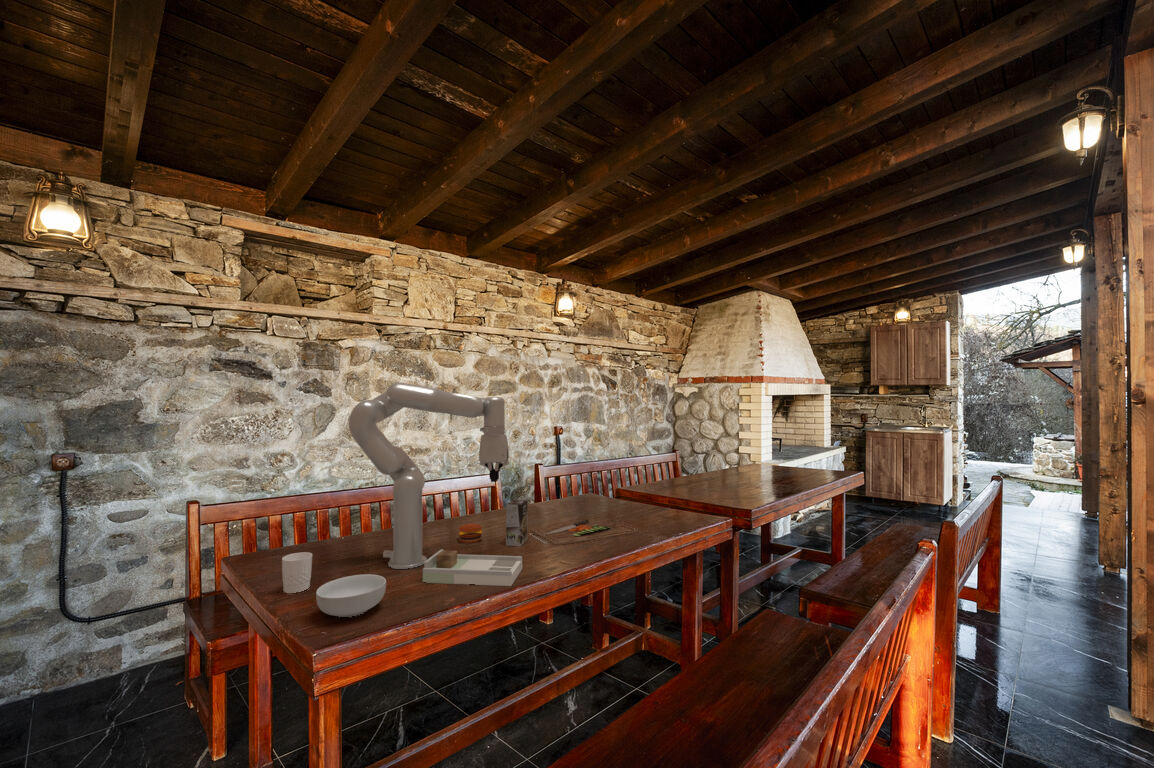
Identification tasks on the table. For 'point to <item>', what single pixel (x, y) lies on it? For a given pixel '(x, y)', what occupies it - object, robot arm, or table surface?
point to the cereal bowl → (351, 595)
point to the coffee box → (516, 522)
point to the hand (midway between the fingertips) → (494, 481)
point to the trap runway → (475, 570)
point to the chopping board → (578, 532)
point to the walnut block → (446, 559)
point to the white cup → (296, 572)
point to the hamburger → (470, 533)
